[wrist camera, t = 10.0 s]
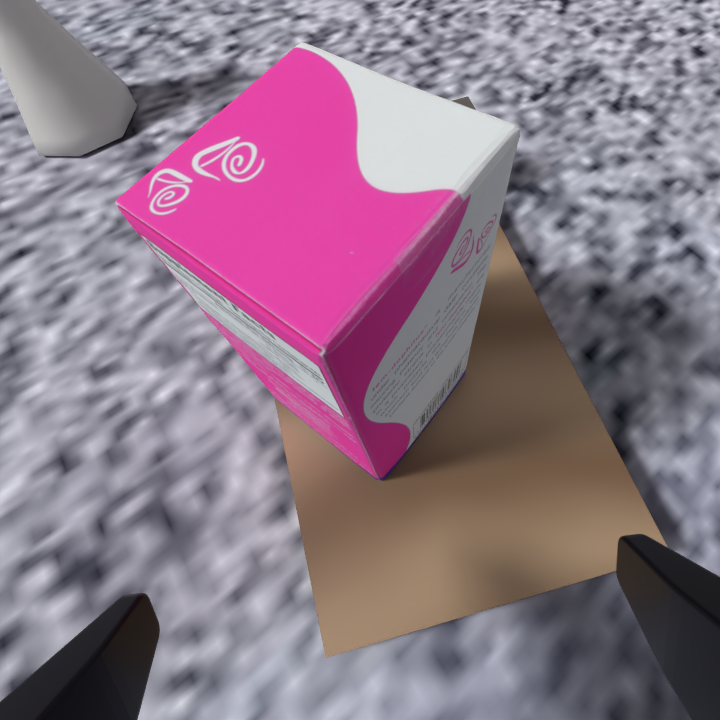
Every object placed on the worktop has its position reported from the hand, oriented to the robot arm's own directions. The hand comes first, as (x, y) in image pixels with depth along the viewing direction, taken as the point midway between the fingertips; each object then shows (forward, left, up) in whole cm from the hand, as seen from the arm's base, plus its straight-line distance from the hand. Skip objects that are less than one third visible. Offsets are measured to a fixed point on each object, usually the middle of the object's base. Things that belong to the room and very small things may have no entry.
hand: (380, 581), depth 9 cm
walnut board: (+8, -3, -9) cm, 13 cm away
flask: (+31, +12, -10) cm, 35 cm away
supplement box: (+7, -1, -8) cm, 11 cm away
